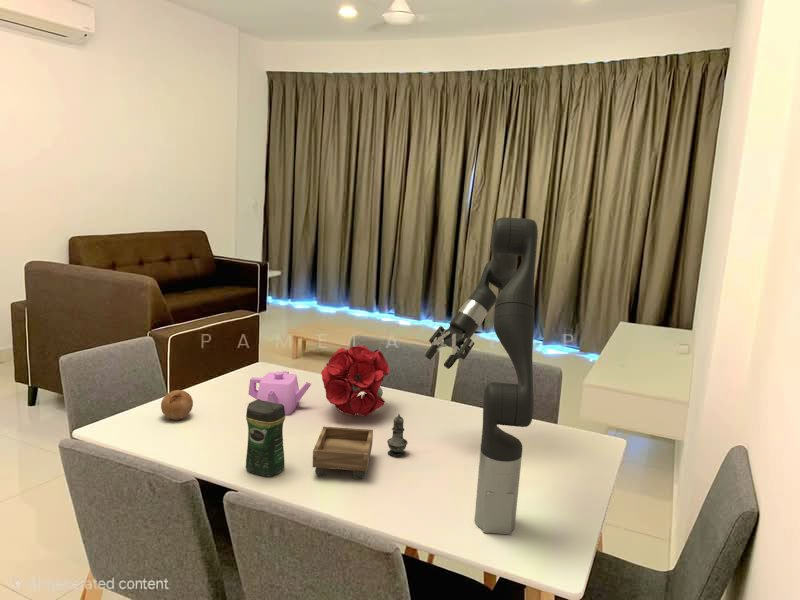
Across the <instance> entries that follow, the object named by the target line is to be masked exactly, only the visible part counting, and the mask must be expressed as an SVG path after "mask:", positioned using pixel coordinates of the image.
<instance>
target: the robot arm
mask: <svg viewBox="0 0 800 600" xmlns="http://www.w3.org/2000/svg"><path fill="white" fill-rule="evenodd" d="M538 232H539V231H538V223H537V222H536V221H535V220H534V219H532V218H522V217H521V218H520V217H499V218H497V219H496V220H495V221H494V223H493V225H492V230H491V242H490V244H491V245H490V246H491V248H490V249H491V256H492V258H491V259H490V260H489V261H488V262H487V263H486V264H485V265H484V267H483V271H482V273H481V276H480V279H479V281H478V284H477V286H476V287H475V289H474V290H473V292H472V293H471V294H470V296H469V297H468V299H467V300H466V301H465V302H464V303H463V305H462V306H460V308H459V310H458V311H457V312H456V314H454V316H453V318H452V319H451V320H450V321H449V327H448V328H447V329H445V328H444V327H443V326H442V325H440V326H439V327H438V328H437V330H436V331H434V333H433V335H432V336H431V337H430V338H429V340H428V341H429V343H430V344H431V346H429V348H428V350H427V351H426V353H425V357H426V358H427V359H428V360H430V361H431V360H432V359H433V358H434V356H435V355H436V353H437V352H438V350H439V349H441V348H446V347H449V348H451V349H452V352H451V354H449V356H448V357H447V359H446V360H445V362H444V363H443V366H444V367H445V368H446V369H447V370H449V369H451V368H452V367H453V366H454V365H455V363H456V362H457V360H459V359H462V360H465V359H466V358H467V356H468V355H469V353H470V352H471V350H472V349H473V347H474V346H475V342H474V340H473V339H472V337H473V336H474V334H475V332H476V331H477V330H478V329H479V327H480V326H481V324H482V323H483V322H484V319H485V318H486V316H487V314H488V313H489V312H490V310H491V309H492V307H493V306H494V315H493V329H494V332H495V335H496V336H497V339H498V340H499V343H500V344H501V346H502V347H503V349H504V350H505V352H506V353H507V355H508V356H509V359H510V360H511V363H512V364H513V368H514V370H515V373H516V377H517V382H518V384H517V383H509V382H498V381H497V382H495V381H492V382H488V383H487V384H486V386H485V389H484V391H483V392H484V394H483V403H482V404H483V405H482V431H481V442H480V450H479V451H480V453H479V463H478V464H479V465H478V473H477V483H476V485H477V486H476V498H475V511H474V523H475V525H476V527H478V528H480V529H481V530H482V532H483V533H485V534H497V535H499V534H500V535H511V534H512V531H513V530H514V529H515V527H516V517H517V509H518V508H517V507H518V500H519V499H518V497H519V488H520V487H519V486H520V479H521V478H520V477H521V476H520V475H521V469H522V468H521V467H522V457H523V443H522V441H521V440H520V439H519V438H517V437H516V436H514V435H513V434H510V433H508V432H506V431H504V430H502V429H501V428H500V427H499V426H507V427H517V428H520V427H521V428H528V427H530V425H531V424H532V421H533V417H534V408H535V407H534V404H535V403H534V400H535V399H534V394H535V393H534V375H533V374H534V372H533V371H534V369H533V350H534V335H535V334H534V332H535V276H536V275H535V272H536V262H537V250H538V249H537V248H538V239H539V238H538V237H539V236H538V234H539V233H538ZM518 256H519V257H522V260H521V263H520V265H519V266H518V268H517V265H518ZM488 284H491V285H492V286H494V287H495V288H496V289H498V290H499V291H500V293H499V294H498V295H496V294H495V292H494V291H493V290H492V289H491V288H490V287H489V285H488ZM498 425H499V426H498Z"/></svg>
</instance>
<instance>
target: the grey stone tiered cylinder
mask: <svg viewBox="0 0 800 600" xmlns="http://www.w3.org/2000/svg"><path fill="white" fill-rule="evenodd" d="M404 423H405V422H404V418H403V417H402V416H401V414H400V413H398V414H397V416H395V417H394V418H393V425H392V428H391V430H392V437H390V438H389V439H387V441H386V443H387V445H388V448H389V450H388V451H387V455H388V456H390V457H392V458H403V457H406V454H407V452H406V451H404V450H405V449H406V448H407V445H408V443H409V442H408V440H407V439H405V438H404V431H405V428H404Z"/></svg>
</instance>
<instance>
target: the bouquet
mask: <svg viewBox="0 0 800 600" xmlns="http://www.w3.org/2000/svg"><path fill="white" fill-rule="evenodd" d="M325 365H326V366H324V367H323V369H322V370H321V371H320V372H321V378H322V383H323V387H324V390H325V398H326V399H327V401H328V402H329V403H330V404H332V405H334V406H335V408H336V409H338V411H340V412H341V413H343V414H346V415H349V416H353V417H354V416H356V415H358V416H363V417H368V416H369V415H371V414H373V413H374V412H375V411H376V410H378V409H380V408H381V407H383V406H384V405H385V403H386V402H385V400H384V398H382V397H383V395H384V392H383V388H382V387H381V386H382V383H383V381H384V377H387V376H388V375H389V373H390V370H391V369H390V366H389V364H388V361H387V360H386V358H385V357H384V354H383V353H382V352H381V351H379V349H376V350H374V351H372V350H370V349H369V348H368V347H367V346H366V345H356V346H351V347H350V348H348V349H347V348H346V349H345V348H344V347H341V348H339V349H337V350H336V352H334V353H333V354H332V356H331V357H330V358H329V360H328V362H327V363H326V364H325ZM362 392H363V394H360V393H362Z"/></svg>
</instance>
